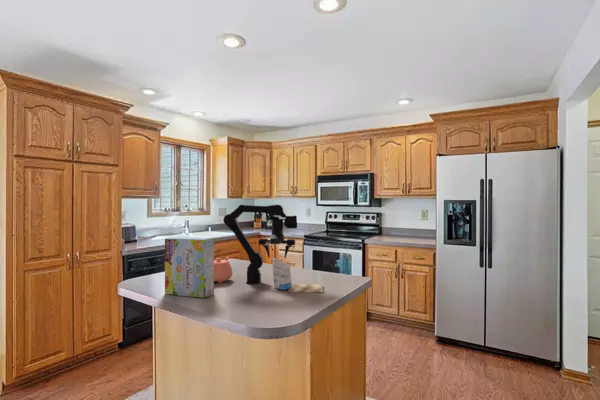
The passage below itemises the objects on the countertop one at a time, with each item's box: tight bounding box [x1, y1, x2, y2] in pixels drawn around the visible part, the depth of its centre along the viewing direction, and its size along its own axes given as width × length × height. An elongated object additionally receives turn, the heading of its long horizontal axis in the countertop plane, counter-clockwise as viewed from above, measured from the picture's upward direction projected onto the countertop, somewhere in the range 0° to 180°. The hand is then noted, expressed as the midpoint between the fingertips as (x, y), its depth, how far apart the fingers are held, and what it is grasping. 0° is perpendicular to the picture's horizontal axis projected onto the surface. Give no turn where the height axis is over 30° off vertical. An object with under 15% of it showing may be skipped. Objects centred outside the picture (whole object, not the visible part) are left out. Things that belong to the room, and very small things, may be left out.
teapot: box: [214, 256, 233, 284], centre depth 178 cm, size 13×20×12 cm, turn 164°
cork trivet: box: [287, 283, 324, 294], centre depth 161 cm, size 16×13×1 cm
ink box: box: [271, 257, 293, 291], centre depth 162 cm, size 8×5×15 cm, turn 39°
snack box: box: [164, 236, 215, 299], centre depth 152 cm, size 22×9×26 cm, turn 71°
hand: (277, 258), depth 175 cm, fingers open, 8 cm apart
